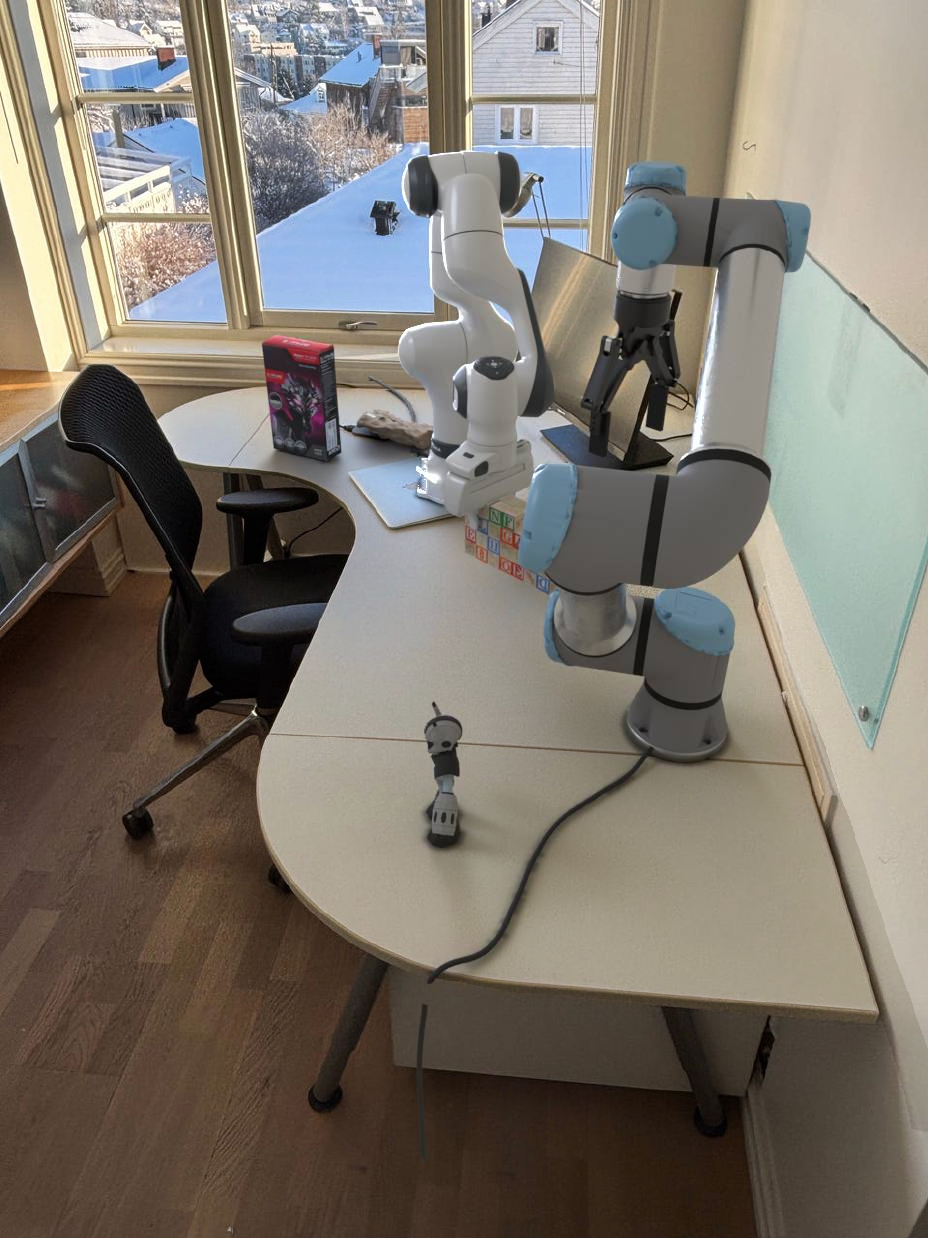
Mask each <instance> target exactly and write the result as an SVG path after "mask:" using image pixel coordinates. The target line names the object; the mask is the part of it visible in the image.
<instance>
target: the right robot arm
mask: <svg viewBox="0 0 928 1238" xmlns="http://www.w3.org/2000/svg"><path fill="white" fill-rule="evenodd" d="M687 177H688V170H687V169H686V167H685V166H684V165H682V164H681V163H678V162H677V163H676V162H670V161H658V160H656V161H654V160H650V161H649V160H647V161H646V160H645V161H638V162H635V163H632V164H631V165H630V166H629V167H628V169H627V172H626V178H625V185H624V186H623V191H624V197H623V203H622V205H621V206H620V207H619V208H618V210H617V211H616V213H615V215H614V217H613V220H612V227H611V230H610V244H611V248H612V252H613V253H614V255H615V257H616V258H617V260H618V263H617V273H616V281H615V282H616V283H615V287H616V288H617V289H618V290H616V292H615V293H614V300H613V308H612V309H613V310H612V319H613V320H614V322H615V323H616V324H617V326H618V329H617V333H616V335H615V336H609V335H606V334H604V335H602V337H601V339H600V344H599V345H600V346H599V351H598V355H597V357H596V361H595V362H594V366H593V368H592V371H591V374H590V376H589V379H588V382H587V385H586V387H585V391H584V392H583V396H582V399H581V401H580V408H581V409H584V410H587V411H589V412H590V417H589V428H588V429H589V439H588V441H589V442H588V453H589V454H593V455H595V456H598V457H601V458H607V456H608V450H609V449H608V448H609V440H610V439H609V438H610V428H611V419H612V411H610V410H609V409H610V407H611V405H612V403H613V401H614V399H615V397H616V395H617V393H618V391H619V389H620V388H621V385H622V383H623V382H624V379H625V378H626V376H627V374H628V372H629V371H632V370H633V369H634V367H635V365H638V364H639V363H641V362H642V361H644V362H645V365H646V366H647V368H648V371H649V373H650V374H651V377H652V379H653V381H654V383H652V384H650V386H649V395H648V402H647V411H646V416H645V417H646V418H645V428H647V429H651V430H653V431H657V432H660V433H661V432H663V431H664V427H665V426H664V425H665V420H666V419H665V418H666V412H667V406H668V405H667V404H668V400H669V393H670V388H673V389H675V388H676V387H677V385H678V380H680V378H681V376H682V375H681V374H682V372H681V366H680V360H679V355H678V349H677V343H676V336H675V332H676V331H675V329H676V321H675V320H673V319H670V313H671V307H672V299H673V297H672V295H671V292H672V291H673V290H674V286H675V278H676V269H677V266H685V267H687V266H689V267H702V268H714V269H715V268H716V272H715V279H714V286H713V292H712V300H711V306H710V313H709V320H708V326H707V332H706V338H705V346H704V352H703V358H702V366H701V372H700V378H699V385H698V392H697V399H696V405H695V412H694V418H693V425H692V433H691V439H690V446H689V451H688V452H687V453H684V455H683V456H681V458H680V459H679V460H678V462H677V465H676V472H675V475H669V474H660V473H650V472H642V471H632V470H623V469H615V468H614V469H613V468H605V467H598V466H597V467H596V466H586V465H578V464H575V463H574V462H571V461H565V462H547V461H546V462H543V463H539V465H537V466H536V468H535V469H534V473H533V476H532V480H531V485H530V486H529V490H528V494H527V500H526V502H527V504H526V509H525V515H524V520H523V526H522V532H521V538H520V545H519V552H518V563H519V565H520V566H521V567H522V568H523V569H527V570H531V571H533V572H534V573H542V572H544V573H545V574H546V576H547V577H548V578H549V580H550V581H551V582H552V583H553V584H555V585H556V586H557V588H556V589H555V590H554V592H552V593H551V594H550V596H549V599H548V601H547V604H546V609H545V614H544V621H543V637H544V641H543V645H544V650H545V653H546V655H547V657H548V659H550V660H551V661H552V662H553V663H558V664H561V665H564V666H567V667H578V668H585V669H591V670H599V671H604V672H605V671H606V672H610V673H619V674H624V675H630V676H631V675H632V676H637V677H643V682H642V684H641V685H640V688H639V689H638V691H637V692H636V694H635V695H634V697H633V699H632V701H631V702H630V704H629V705H628V707H627V711H626V719H625V728H626V732H627V734H628V736H629V738H630V739H631V741H632V742H634V744H636V745H637V746H638V747H639V748H640V749H641V750H643V751H645V752H644V753H643V754H642V755H641V756H640V757H639V759H638V760H637V762H636V763H635V764H634V766H633V767H632V768H631V769H630V770H628V771H627V772H626V773H625V774H624V775H623V776H621V777H619V778H618V779H617V780H615V781H613V782H611V783H610V784H608V785H606V786H605V787H603V788H602V789H600V790H598V791H596V792H595V793H593V794H592V795H591V796H589V797H588V798H585V799H584V800H583V801H581V802H579V803H578V804H576V805H575V806H573V807H571V808H570V809H569V810H567V811H566V812H565V813H563V814H562V815H561V816H560V817H559V818H558V819H557V820H555V822H554V823H553V824H552V825H551V826H550V827H549V828H548V830H547V831H546V833H545V834H544V835H543V837H542V839H541V840H540V841H539V843H538V845H537V846H536V849H534V852H533V854H532V856H531V858H530V860H529V861H528V863H527V865H526V868H525V870H524V873H523V876H522V877H521V881H520V882H519V883H520V884H519V886H518V888H517V891H516V894H515V896H514V898H513V900H512V902H511V904H510V906H509V908H508V910H507V912H506V915H505V917H504V920H503V922H502V924H501V926H500V928H499V930H498V931H497V933H496V935H494V937H493V939H491V940H490V942H489V943H487V945H485V946H484V947H483V948H482V949H480V950H479V951H477V952H475V953H472V954H468V955H465V956H462V957H458V958H453V959H451V960H449V961H446V962H444V963H442V964H440V965H439V966H438V967H436V969H434V971H432V973H430V975H429V976H428V978H427V979H426V983H427V985H431V984H433V983H434V982H435V980H436V979H437V978H438V977H439V976H440V975H442V973H444V972H445V971H447V970H448V969H450V968H453V967H455V966H459V965H464V964H467V963H471V962H474V961H476V960H479V959H481V958H483V957H485V956H486V955H487V954H488V953H490V952H491V951H492V950H493V948H494V947H495V946H497V944H498V943H500V941H501V939H502V938H503V936H504V935H505V933H506V931H507V929H508V927H509V925H510V922H511V920H512V919H513V918H512V917H513V915H514V913H515V911H516V909H517V907H518V905H519V903H520V900H521V898H522V896H523V893H524V891H525V888H526V886H527V882H528V881H529V877H530V875H531V872H532V870H533V868H534V865H535V863H536V861H537V859H538V858H539V855H540V854H541V852H542V851H543V850H544V849H543V848H544V847H545V845H546V843H547V842H548V840H549V839H550V837H551V836H552V834H553V833H554V832H556V830H557V829H558V827H560V826H561V824H562V823H564V822H565V820H567V819H568V818H570V817H571V816H572V815H573V814H575V813H576V812H579V811H580V810H581V809H583V808H584V807H586V806H588V805H589V804H591V803H592V802H594V801H595V800H597V799H598V798H600V797H602V796H603V795H605V794H606V793H608V792H610V791H611V790H613V789H614V788H617V787H618V786H619V785H621V784H623V783H624V782H626V781H627V780H628V779H629V778H631V777H632V776H633V775H634V774H635V773H636V772H637V771H638V770H639V768H640V767H641V765H642V764H643V763H644V762H645V761H646V759H647V758H648V757H649V756H650V755H651V756H654V757H656V758H659V759H662V760H666V761H670V762H675V763H694V762H700V761H703V760H706V759H709V758H711V757H714V755H716V754H718V752H720V751H721V750H722V748H723V747H724V744H725V743H726V740H727V739H726V738H727V734H728V721H727V716H726V712H725V708H724V707H725V706H724V701H723V692H724V686H725V682H726V678H727V677H726V676H727V672H728V666H729V661H730V657H731V652H732V651H733V649H734V646H735V638H734V637H735V631H736V620H735V616H734V614H733V612H732V610H731V609H730V607H729V606H728V605H727V604H726V603H724V602H723V601H722V600H721V599H720V598H719V597H717V596H716V595H714V594H712V593H710V592H708V591H706V590H704V589H703V590H702V589H700V588H697V587H696V588H695V587H692V586H694V585H696V584H699V583H701V582H703V581H705V580H707V579H709V578H710V577H712V576H714V575H715V574H716V573H718V572H719V571H721V570H722V569H724V567H726V566H727V565H728V564H729V563H730V562H731V561H732V560H733V559H735V557H736V556H737V555H738V554H739V553H740V552H741V551H742V550H743V548H745V546H746V545H747V543H748V542H749V541H750V539H751V538H752V536H753V535H754V533H755V531H756V530H757V528H758V526H759V524H760V522H761V520H762V518H763V515H764V513H765V511H766V507H767V505H768V501H769V498H770V497H769V496H770V491H771V481H772V467H771V464H770V463H769V462H768V461H767V460H766V459H765V458H764V454H765V453H764V451H765V444H766V436H767V427H768V419H769V410H770V401H771V392H772V382H773V375H774V367H775V358H776V350H777V342H778V334H779V333H778V332H779V325H780V315H781V308H782V299H783V291H784V281H785V274H786V273H787V274H789V273H796V272H797V271H799V270H800V269H801V267H802V265H803V263H804V260H805V255H806V252H807V251H806V250H807V246H808V242H809V235H810V228H811V223H812V221H811V220H812V211H811V209H810V207H809V206H808V205H807V204H805V203H802V202H795V201H786V200H779V199H778V198H777V199H776V198H771V199H758V198H757V199H755V198H754V199H753V198H729V197H728V198H727V197H712V196H698V195H697V196H696V195H687ZM627 585H633V586H640V587H641V586H642V587H649V588H653V589H659V590H661V591H659V592H658V593H657V595H656V596H655V598H653V597H645V596H641V595H634V594H631V593H630V592H629V591H628V590H627ZM428 1009H429V1008H428V1004H426V1003H421V1013H420V1020H419V1027H418V1037H417V1048H416V1095H417V1097H416V1098H417V1109H418V1110H417V1111H418V1124H419V1125H418V1127H419V1143H420V1144H419V1145H420V1146H419V1150H420V1153H419V1154H420V1156H419V1157H420V1158H421V1159H422V1160H424V1159H425V1158H426V1125H425V1123H426V1122H425V1108H424V1107H425V1106H424V1089H423V1087H424V1086H423V1056H424V1055H423V1054H424V1042H425V1034H426V1033H425V1032H426V1024H427V1017H428Z"/></svg>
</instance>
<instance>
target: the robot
mask: <svg viewBox="0 0 928 1238" xmlns="http://www.w3.org/2000/svg"><path fill="white" fill-rule="evenodd" d="M431 706H432V708H433V711H434V714H435V716H434V717H432V718H431V719H430V720H429V721H428V722H425V723H426V724H425V726H424V728H423V734H424V740H426V744H427V746H426V747H427V753H428V754H430V758H431V760H432V763H433V764H434V766H433V775H434V777H433V778H434V780H435V782H436V784H437V788H438V789H437V791H436V794H435V796H434V799H433V800H432V802H431V803H430V805H429V806H428V807H427V809H426V811H425V812H426V814H427V817H428V819H429V820H430V821H431V826H430V829H429V830H428V832H427V836H426V839H427V841H429V842H430V844H431V845H432V846H434V847H438V848H443V847H445V848H446V847H449V846H451V845H453V844H455V843H458V841H459V838H460V835H461V830H460V823H459V820H458V816H459V815H460V812H459V803H458V798H457V795H455V793H454V792H453V790H454V789H453V788H454V786H455V779H454V778H455V777H457V778H459V777H460V774H461V769H460V761H459V757H458V755H457V754H458V752H457V748H458V747H459V743H458V741H460V740H461V738H462V737H463V726H462V723H461V721H460V720H459V719H458V718H455V716H452V715H450V714H447V713H446V714H442V712H441V710H440V709H439V706H438V705H437V703H436V702H435V701H432V702H431Z"/></svg>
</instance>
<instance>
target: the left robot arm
mask: <svg viewBox="0 0 928 1238" xmlns="http://www.w3.org/2000/svg"><path fill="white" fill-rule="evenodd" d="M518 162H519V161H517V159H516V157H515V156H514V155H513V154H511V153H507V152H504V151H498V150H496V151H494V152H489V151H480V150H461V151H459V152H458V151H457V152H456V151H455V152H445V153H444V152H443V153H437V154H432V155H428V154H427V153H426V154H421V155H416V156H414V157H411V158H410V159H409V160H408V162H407V163H406V165H405V170H404V171H403V175H402V181H401V189H402V196H403V200H404V201H405V203H406V205H407V209H408V210H409V211H410V213H412V214H413V215H414V216H416V217H420V218H425V219H430V223H429V240H428V241H429V269H430V270H429V276H430V288H431V291H432V293H433V294H434V295H435V296H436V298H438V299H439V300H441V301H443V302H444V303H446V304H449V305H450V306H453V307H455V308H457V311H458V319H457V320H450V321H438V322H427V323H423V324H420V325H416V326H413V327H410V328H407V329H406V330H405V331H404V332H403V334H402V335H401V337H400V339H399V341H398V346H397V355H398V360H399V362H400V365H401V367H402V368H403V370H404V371H405V372H406V373H407V374H408V375H409V376H410V377H412V378H414V379H415V380H416V381H418V382H419V383H420V385H422V387H423V388H424V390H425V391H426V393H427V395H428V398H429V400H430V403H431V409H432V411H431V412H432V426H433V427H434V433H433V434H432V439H431V441H430V444H431V449H428V453H426V452H424V451H422V449H420V448H417V447H415V446H412V445H410V447H411V449H412V450H413V451H415V452H416V453H417V454H419V455H420V456H423V457H422V458H421V468H420V467H419V466H416V471H417V472H419V474H420V476H421V474H423V475H424V480H426V488H420V489H419V487H418V486H417V490H416V491H417V493H416V496H417V497H419V498H423V499H428V500H430V501H432V502H434V503H437V504H440V505H443V506H444V509H445V511H447V513H449V514H451V515H453V516H455V517H456V518H463V517H465V515H467V517H468V518H469V519H470V525H469V526H470V528H472V529H474V530H477V529H479V528H481V527H482V525H481V524H482V519H480V518H477V516H476V514H478V509H480V508H482V507H485V506H486V504H487V503H489V502H491V501H493V500H496V499H499V498H501V497H503V496H506V495H508V494H509V495H511V496H514V497H516V493H517V492H519V491H522V490H524V489H526V488H530V485H531V480H532V476H533V473H534V471H535V469H534V468H535V467H534V457H533V453H532V444H531V442H530V441H529V440H528V439H526V438H521V439H519V440H518V432H517V431H518V430H517V427H516V426H517V425H516V422H517V420H518V419H517V418H518V417H519V418H540V417H541V416H542V415H543V414H545V413H546V412H547V411H548V410H549V409H550V408H551V406H552V405H554V403H555V400H556V399H555V398H556V383H555V380H554V375H553V372H552V369H551V366H550V362H549V360H548V356H547V353H546V350H545V345H544V341H543V337H542V336H543V335H542V331H541V328H540V324H539V320H538V314H537V310H536V307H535V303H534V299H533V296H532V292H531V287H530V285H529V281H528V279H527V276H526V274H525V273H524V271H523V270H522V269H521V268H519V267H518V266H517V267H516V266H515V264H514V263H513V261H512V260H511V258H510V256H509V254H508V251H507V248H506V244H505V232H504V223H503V215H504V214H507V213H509V212H511V211H512V210H513V209H514V208H515V207H516V206H517V205H518V203H519V199H520V196H521V192H522V187H523V178H522V172H521V169H520V166H519V163H518ZM493 304H495V305H497V306H499V307H501V308H502V309H503V310H505V311H506V313H507V314H508V315H509V317H510V319H511V322H512V324H511V322H509V320H507V319H505V317H503V316H502V315H501V314H500V313H499V312H498V310H497V309H496V308H495V306H494V305H493ZM518 352H519V355H520V359H519V360H518V361H515V360H516V358H517V356H518ZM367 378H368V379H369V380H371V381H373V382H375V383H377V384H379V386H382V387H384V388H385V389H387V390H389V391H390V392H392V393H394V394H395V395H396V396H397V397H398V398H399V399H401V400H402V401H403V403H405V405H406V406H407V407H408V410H409V413H410V419H411V420H410V422H416V416H415V412H414V408H413V407H412V405H411V403H410V402H409V400H408V399H407V398H406V397H405V396H404V395H403V394H402V393H400V392H398V390H396V389H395V388H394V387H392V386H389V385H388V384H386V383H384V382H383V381H381V380H379V379H377V378H376V377H373V376H372V375H368V376H367ZM422 468H426V470H424V471H423V470H422ZM425 471H426V472H425ZM420 476H419V477H420ZM424 490H426V491H424ZM423 494H426V495H423ZM428 495H429V496H428ZM431 496H432V497H431ZM433 497H435V498H438V499H440V500H438V499H435V498H433ZM441 500H444V501H441Z"/></svg>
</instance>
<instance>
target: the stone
mask: <svg viewBox="0 0 928 1238" xmlns="http://www.w3.org/2000/svg"><path fill="white" fill-rule="evenodd" d="M356 427H357V428H358V429H361V428H365V429H368V431H369V432H370V433H373V434H377V435H378V437H379V439H383V440H388V439H389V440H390V441H393V442H395V443H400V444H401V445H405V446H411V445H412V446H415V447H417V448H418V449H419V450H426V449H427V447H428V446H429V444H430V443H431V439H432V434H433V433H434V427H433V424H428V423H419V422H416V421H415V422H411V421H408V420H404V419H402V418H401V417H397V416H396V415H394V414H393V413H390V412H389V411H387V410H382V409H373V410H365V411H364V412H362V414H361V415H360V416H359V418H358V419H357V421H356Z"/></svg>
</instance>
